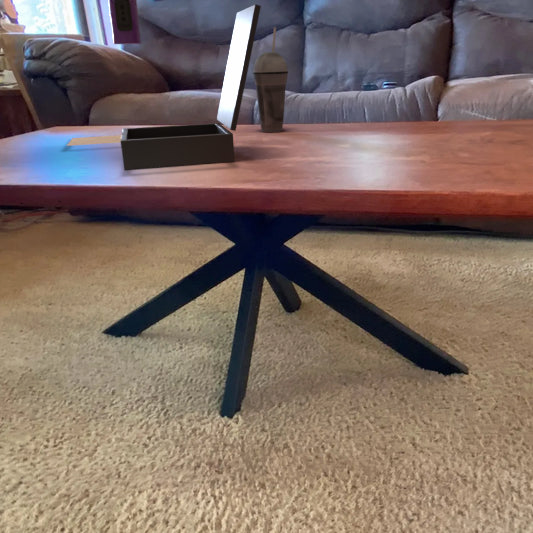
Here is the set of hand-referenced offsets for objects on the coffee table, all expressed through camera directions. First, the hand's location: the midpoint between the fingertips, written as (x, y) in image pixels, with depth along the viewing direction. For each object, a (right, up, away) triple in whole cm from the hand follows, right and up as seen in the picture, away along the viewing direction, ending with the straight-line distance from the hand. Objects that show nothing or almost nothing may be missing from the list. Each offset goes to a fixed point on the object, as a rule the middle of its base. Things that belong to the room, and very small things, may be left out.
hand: (125, 30), depth 76 cm
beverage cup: (+22, -7, +33) cm, 40 cm away
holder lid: (+16, -6, 0) cm, 17 cm away
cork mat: (-10, -11, +24) cm, 28 cm away
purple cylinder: (0, -2, +1) cm, 2 cm away
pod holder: (+7, -19, +3) cm, 21 cm away
